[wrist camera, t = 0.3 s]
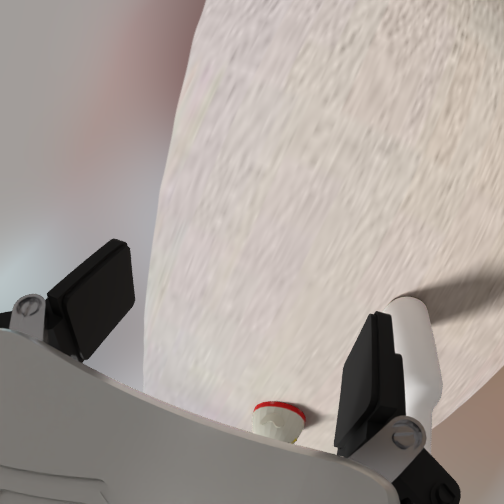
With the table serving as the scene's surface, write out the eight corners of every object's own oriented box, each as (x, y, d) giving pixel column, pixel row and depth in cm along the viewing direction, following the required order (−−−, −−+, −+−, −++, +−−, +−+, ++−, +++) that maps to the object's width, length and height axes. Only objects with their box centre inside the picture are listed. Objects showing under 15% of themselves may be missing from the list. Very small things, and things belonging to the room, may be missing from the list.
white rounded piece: (306, 430, 77) (296, 476, 65) (259, 425, 82) (244, 469, 69) (303, 403, 71) (291, 455, 59) (250, 398, 75) (232, 447, 63)
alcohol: (424, 288, 48) (453, 449, 23) (429, 325, 51) (448, 475, 26) (376, 300, 52) (375, 463, 27) (385, 336, 55) (383, 486, 30)
